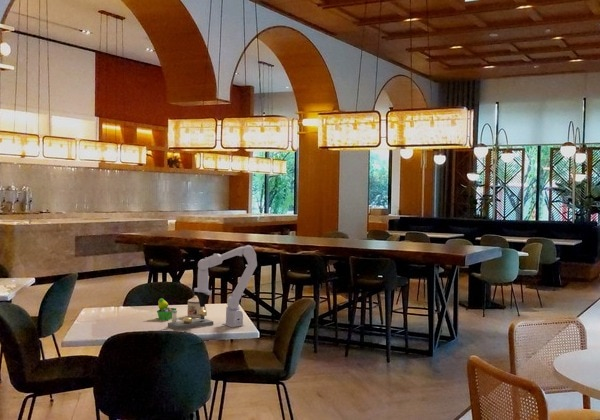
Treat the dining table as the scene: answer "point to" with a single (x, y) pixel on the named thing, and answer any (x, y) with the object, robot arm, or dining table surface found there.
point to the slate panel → (190, 324)
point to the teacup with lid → (194, 307)
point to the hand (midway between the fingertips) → (202, 306)
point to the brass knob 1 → (187, 320)
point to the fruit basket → (164, 310)
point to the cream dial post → (174, 316)
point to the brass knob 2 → (202, 313)
